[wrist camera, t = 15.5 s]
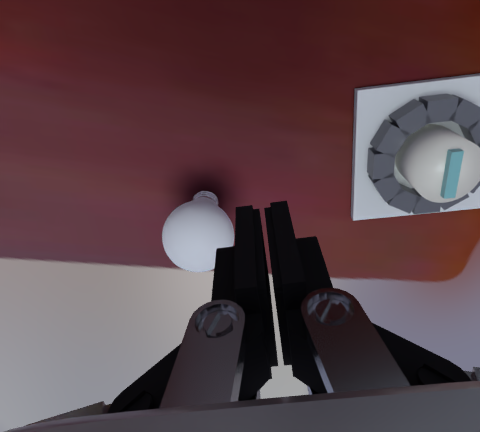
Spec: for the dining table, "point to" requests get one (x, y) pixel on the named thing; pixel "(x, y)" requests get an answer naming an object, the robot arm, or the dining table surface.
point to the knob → (439, 163)
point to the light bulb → (197, 233)
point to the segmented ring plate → (396, 132)
